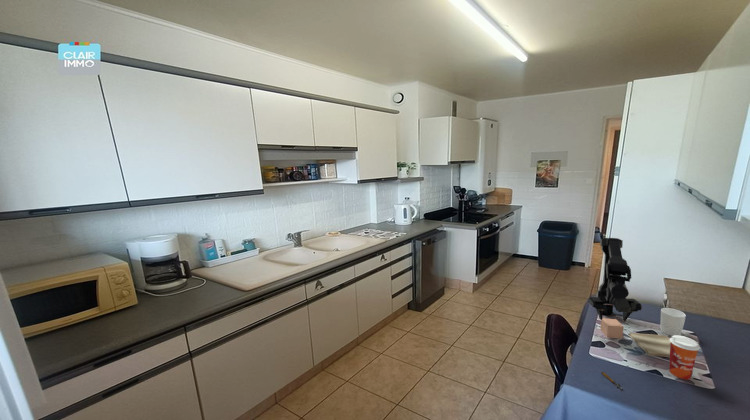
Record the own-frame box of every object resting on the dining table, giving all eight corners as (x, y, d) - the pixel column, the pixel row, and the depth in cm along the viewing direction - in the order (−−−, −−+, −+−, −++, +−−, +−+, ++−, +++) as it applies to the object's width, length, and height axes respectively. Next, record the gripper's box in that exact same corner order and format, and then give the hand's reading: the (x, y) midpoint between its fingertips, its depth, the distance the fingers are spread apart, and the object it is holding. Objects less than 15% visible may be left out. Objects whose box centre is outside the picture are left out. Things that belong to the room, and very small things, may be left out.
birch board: (628, 335, 134) (629, 332, 134) (665, 337, 131) (665, 335, 131) (649, 355, 121) (649, 352, 120) (690, 358, 118) (691, 356, 117)
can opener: (600, 373, 113) (601, 371, 113) (606, 373, 113) (607, 371, 113) (619, 392, 104) (619, 389, 104) (626, 392, 104) (626, 389, 104)
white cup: (688, 337, 131) (691, 316, 129) (669, 337, 131) (672, 317, 129) (670, 327, 138) (673, 307, 137) (653, 327, 139) (656, 308, 137)
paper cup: (670, 377, 109) (674, 344, 106) (662, 364, 115) (666, 332, 113) (699, 384, 105) (705, 349, 103) (689, 370, 112) (694, 337, 109)
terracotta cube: (600, 329, 139) (601, 318, 138) (614, 330, 138) (616, 319, 137) (607, 337, 134) (608, 325, 132) (622, 338, 132) (623, 326, 131)
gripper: (600, 296, 126) (598, 328, 129) (652, 298, 122) (648, 332, 125) (588, 284, 137) (586, 315, 140) (635, 286, 133) (632, 318, 135)
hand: (612, 320), depth 135 cm, fingers open, 9 cm apart
